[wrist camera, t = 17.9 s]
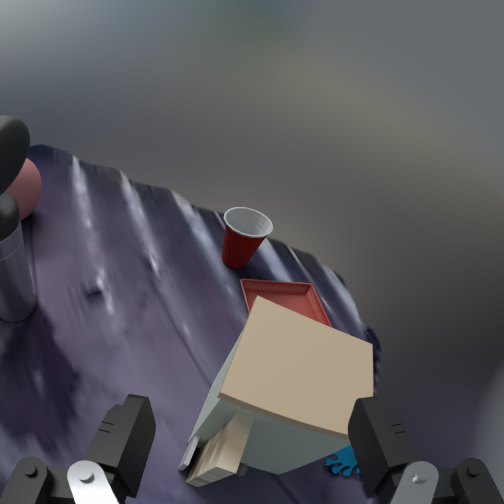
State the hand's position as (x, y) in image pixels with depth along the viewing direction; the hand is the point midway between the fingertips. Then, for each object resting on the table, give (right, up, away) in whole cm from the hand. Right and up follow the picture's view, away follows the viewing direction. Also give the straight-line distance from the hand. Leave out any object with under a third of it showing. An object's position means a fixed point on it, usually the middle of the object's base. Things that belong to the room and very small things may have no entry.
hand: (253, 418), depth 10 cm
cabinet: (-2, -22, +28) cm, 36 cm away
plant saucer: (+7, -9, +51) cm, 52 cm away
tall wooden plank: (-7, -24, +22) cm, 34 cm away
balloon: (-57, +13, +42) cm, 72 cm away
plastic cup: (-5, +4, +60) cm, 61 cm away
